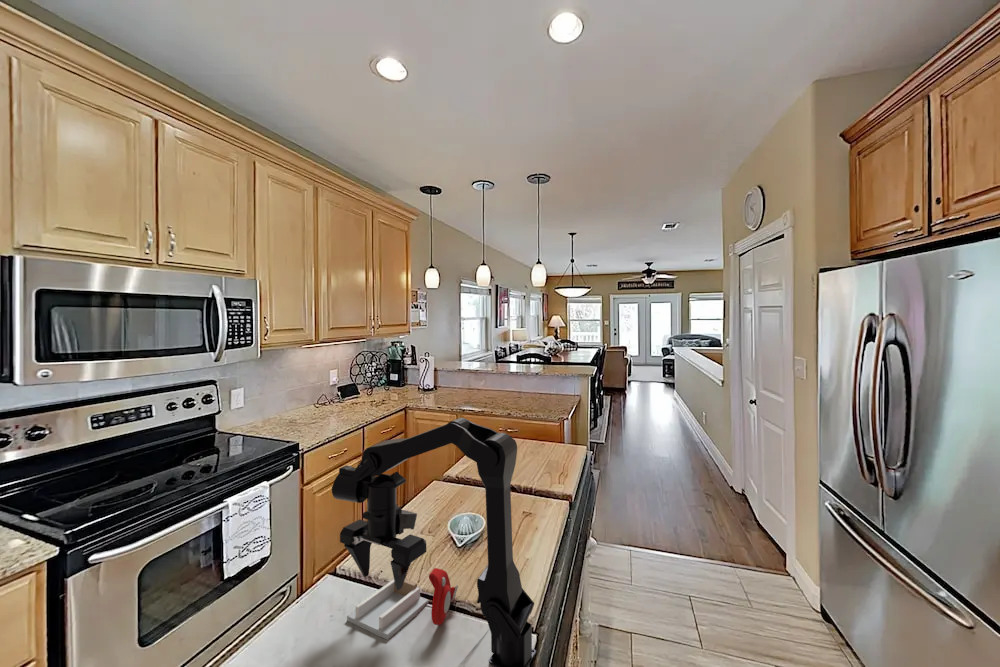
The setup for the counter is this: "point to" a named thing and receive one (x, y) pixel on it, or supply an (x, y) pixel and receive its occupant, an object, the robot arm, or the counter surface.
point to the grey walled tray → (388, 609)
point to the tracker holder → (441, 595)
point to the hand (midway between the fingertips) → (382, 582)
